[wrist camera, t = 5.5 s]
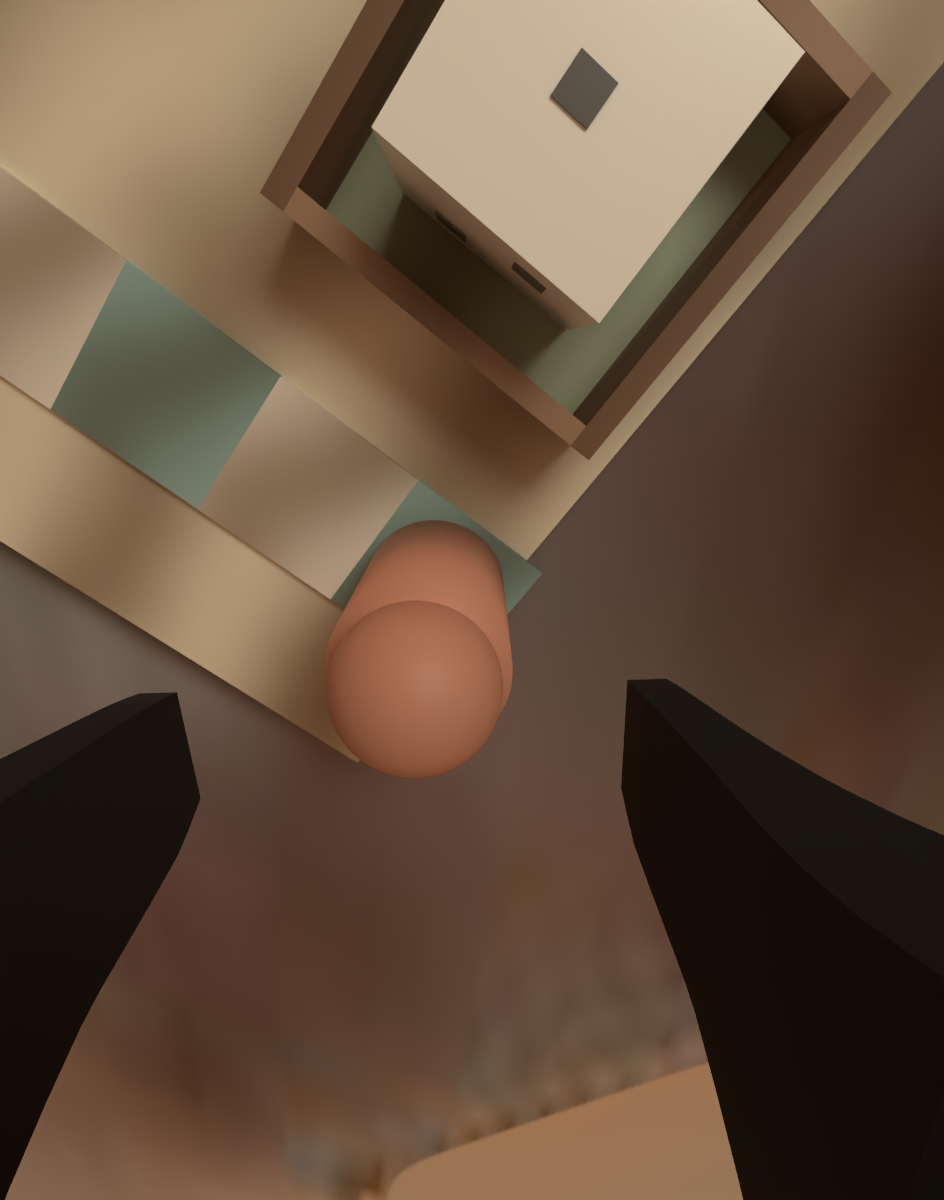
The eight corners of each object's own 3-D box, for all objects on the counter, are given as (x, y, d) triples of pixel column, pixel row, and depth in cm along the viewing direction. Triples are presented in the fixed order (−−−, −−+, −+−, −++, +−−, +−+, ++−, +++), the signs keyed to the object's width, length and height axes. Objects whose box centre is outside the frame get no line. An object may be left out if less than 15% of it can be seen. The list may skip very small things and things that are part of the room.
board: (951, 69, 14) (1095, -16, 11) (376, 752, 20) (356, 829, 17) (249, -752, 10) (143, -1263, 7) (-186, 398, 17) (-347, 410, 13)
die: (703, 143, 14) (806, 50, 9) (563, 332, 15) (597, 326, 11) (533, -24, 13) (561, -212, 8) (400, 194, 14) (365, 126, 10)
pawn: (531, 576, 17) (565, 719, 10) (448, 672, 18) (429, 861, 11) (421, 491, 16) (379, 585, 10) (340, 597, 17) (250, 751, 10)
